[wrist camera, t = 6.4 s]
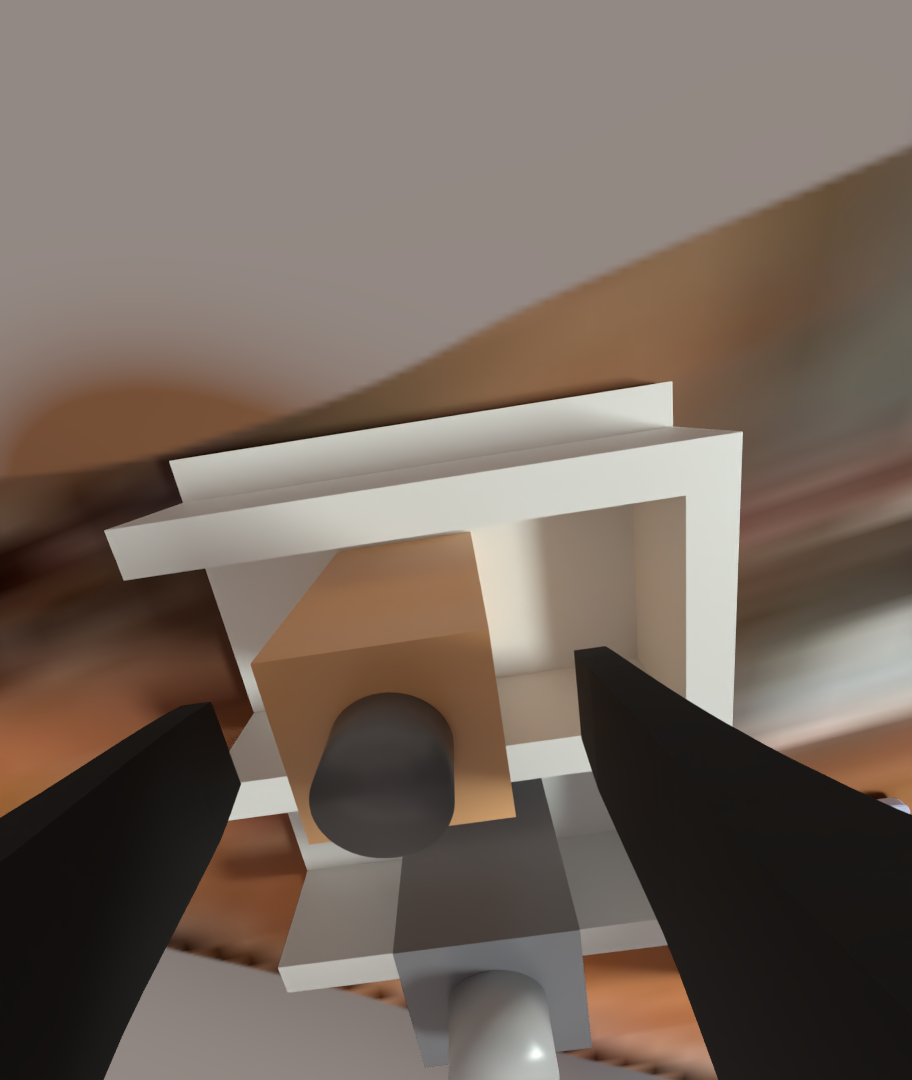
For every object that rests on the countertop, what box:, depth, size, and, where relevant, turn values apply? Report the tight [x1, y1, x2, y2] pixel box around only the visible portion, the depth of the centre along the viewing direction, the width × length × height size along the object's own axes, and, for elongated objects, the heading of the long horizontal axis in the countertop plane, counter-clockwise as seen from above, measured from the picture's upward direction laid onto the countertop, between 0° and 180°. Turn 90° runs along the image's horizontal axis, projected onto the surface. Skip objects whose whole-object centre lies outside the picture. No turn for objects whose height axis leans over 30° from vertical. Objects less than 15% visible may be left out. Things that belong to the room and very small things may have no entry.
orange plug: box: [250, 532, 516, 858], centre depth 10 cm, size 4×4×7 cm
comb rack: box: [104, 381, 743, 993], centre depth 13 cm, size 18×14×4 cm
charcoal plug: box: [393, 778, 592, 1080], centre depth 12 cm, size 4×4×7 cm
